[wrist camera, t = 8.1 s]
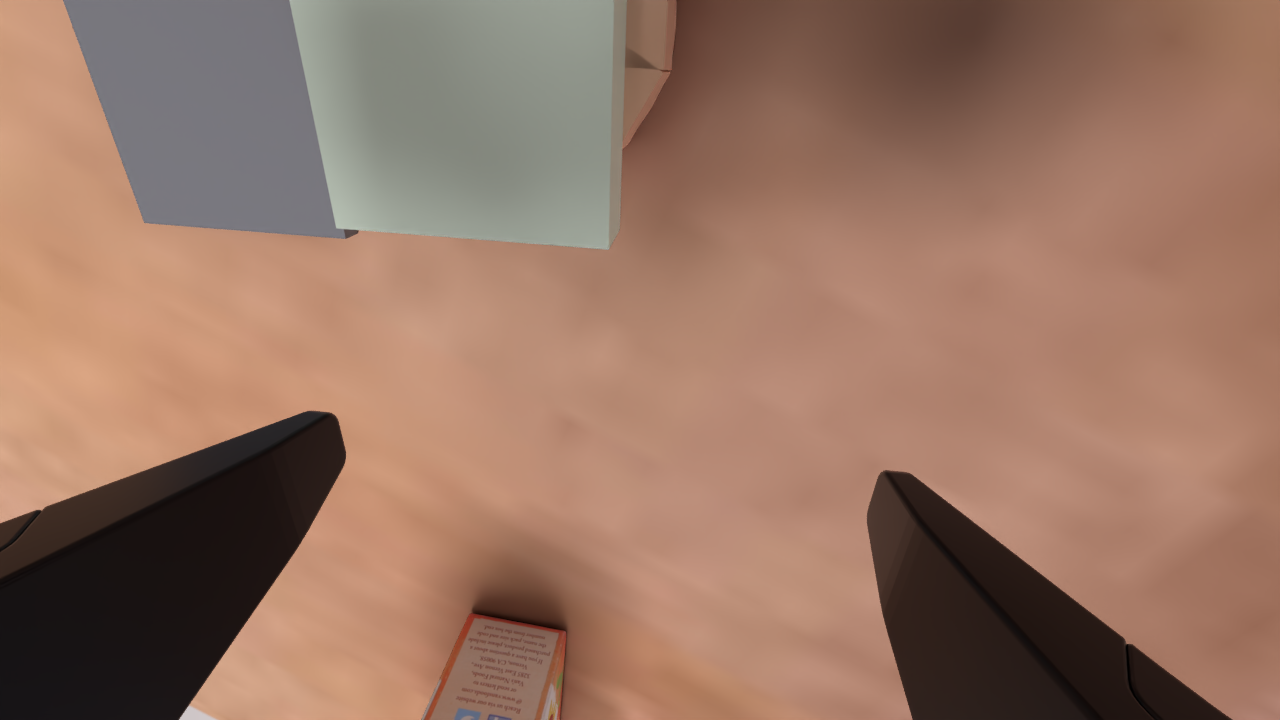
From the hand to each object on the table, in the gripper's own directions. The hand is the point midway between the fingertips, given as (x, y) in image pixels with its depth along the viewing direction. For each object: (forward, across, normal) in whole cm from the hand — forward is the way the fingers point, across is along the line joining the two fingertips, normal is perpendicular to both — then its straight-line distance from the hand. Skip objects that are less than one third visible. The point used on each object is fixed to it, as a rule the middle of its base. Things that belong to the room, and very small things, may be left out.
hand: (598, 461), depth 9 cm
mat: (+12, +16, -6) cm, 21 cm away
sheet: (+8, +4, -7) cm, 12 cm away
